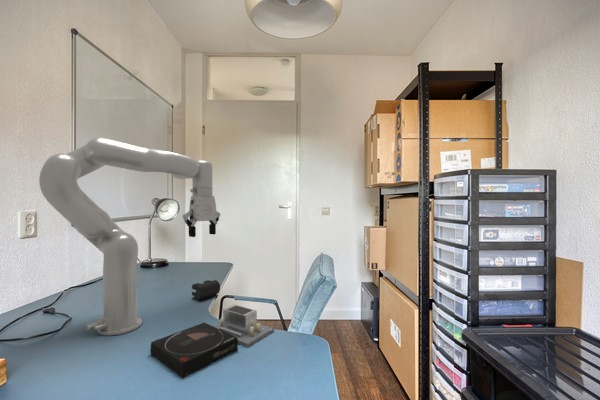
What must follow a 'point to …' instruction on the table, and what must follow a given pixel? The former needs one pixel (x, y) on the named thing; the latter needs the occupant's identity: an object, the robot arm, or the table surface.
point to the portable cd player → (193, 348)
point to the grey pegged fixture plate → (249, 338)
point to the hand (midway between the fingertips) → (202, 235)
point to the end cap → (205, 289)
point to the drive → (239, 319)
